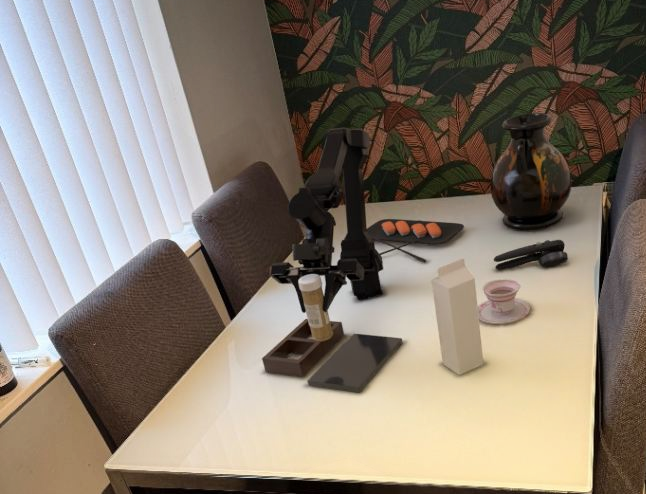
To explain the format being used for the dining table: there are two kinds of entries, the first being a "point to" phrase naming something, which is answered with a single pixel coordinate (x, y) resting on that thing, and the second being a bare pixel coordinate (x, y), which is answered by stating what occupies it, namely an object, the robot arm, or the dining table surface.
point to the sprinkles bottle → (315, 307)
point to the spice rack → (300, 350)
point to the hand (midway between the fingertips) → (314, 311)
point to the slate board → (355, 362)
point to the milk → (457, 317)
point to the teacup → (502, 303)
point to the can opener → (534, 255)
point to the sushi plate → (413, 233)
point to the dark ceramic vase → (530, 176)
